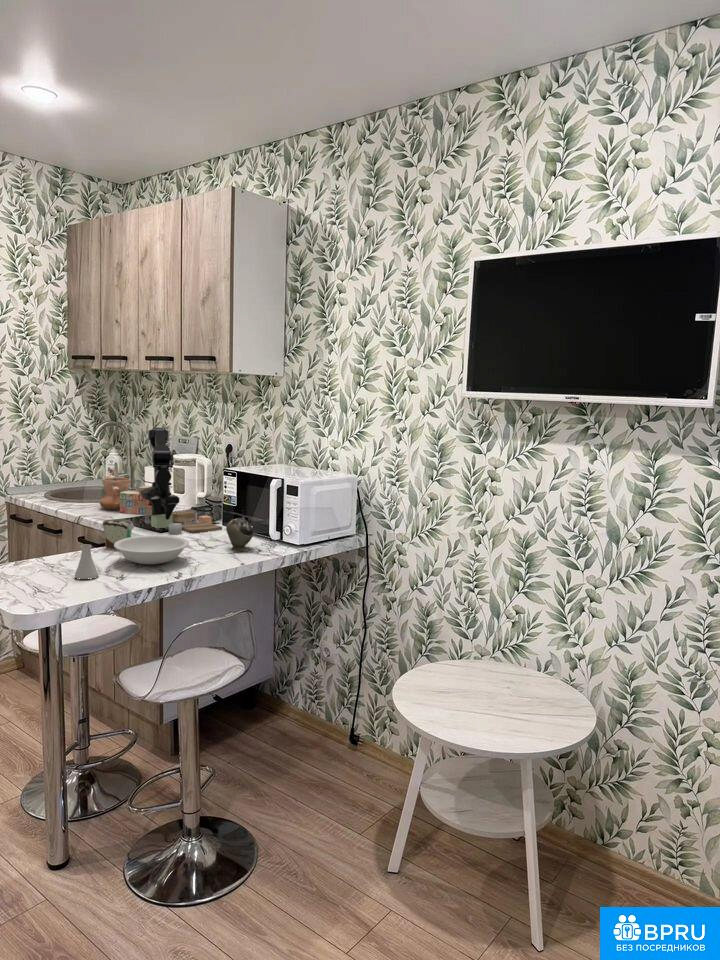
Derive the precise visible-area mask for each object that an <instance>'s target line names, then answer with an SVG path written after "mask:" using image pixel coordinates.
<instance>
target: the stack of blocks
mask: <svg viewBox="0 0 720 960" xmlns="http://www.w3.org/2000/svg"><path fill="white" fill-rule="evenodd" d="M151 486H152V485H142V486H139V487H138V491H131V490H127V491H124V492H121V493H119V500H120V510H119V513H120V514H130V515H131V514H132V515H142V516H144V515H147V516H152V506H149V501H148V500H146V499H143V497H142V495H141V491H142V490H144V489H146V488H149V487H151ZM169 492H171V487H170V486H169Z"/></svg>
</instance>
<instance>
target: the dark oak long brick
mask: <svg viewBox="0 0 720 960" xmlns="http://www.w3.org/2000/svg"><path fill="white" fill-rule="evenodd" d="M171 516H173V522H184V523H186V522H185V521H190V522H193V521H192V520H194V521H195V511H192V510H185V511H178V512H172V514H171Z"/></svg>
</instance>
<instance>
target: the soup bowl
mask: <svg viewBox="0 0 720 960" xmlns="http://www.w3.org/2000/svg"><path fill="white" fill-rule="evenodd" d="M189 545H190V541H189V540H188V539H186V538H183V537H180V536H176V535H163V534H161V535H160V534H155V535H154V534H152V535H137V536H136V535H135V536H131V537H130V538H125V539H122V540H119V541H117V542H115V544H114V547H115V548H116V549H118V550H120V551H119V552H120V554H121V555H122V556H123V557H124V558H126V560H129V561H130V562H132V563H136V564H140V565H160V564H164V563H168V562H171V561H173V560H175V559H176V558H178V557H179V555H180V554H182V552H183V550H184V549H185V548H187V547H188V546H189ZM118 550H117V551H118Z"/></svg>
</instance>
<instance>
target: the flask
mask: <svg viewBox="0 0 720 960" xmlns="http://www.w3.org/2000/svg"><path fill="white" fill-rule="evenodd" d="M80 549H81V555H80V559H79V562H78V565H77V567H76V570H75V573H74V576H75V578H78V579H77V580H79V578H80V579H88V578H89V579H90V578H95V577H97V576H99V573H98V570H97V568H96V566H95V563H94V559H93V557H92V551H91V549H92V544H87V543H86V544H82V545H81V544H80ZM97 578H98V577H97ZM95 579H96V578H95ZM90 580H91V579H90Z"/></svg>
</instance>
